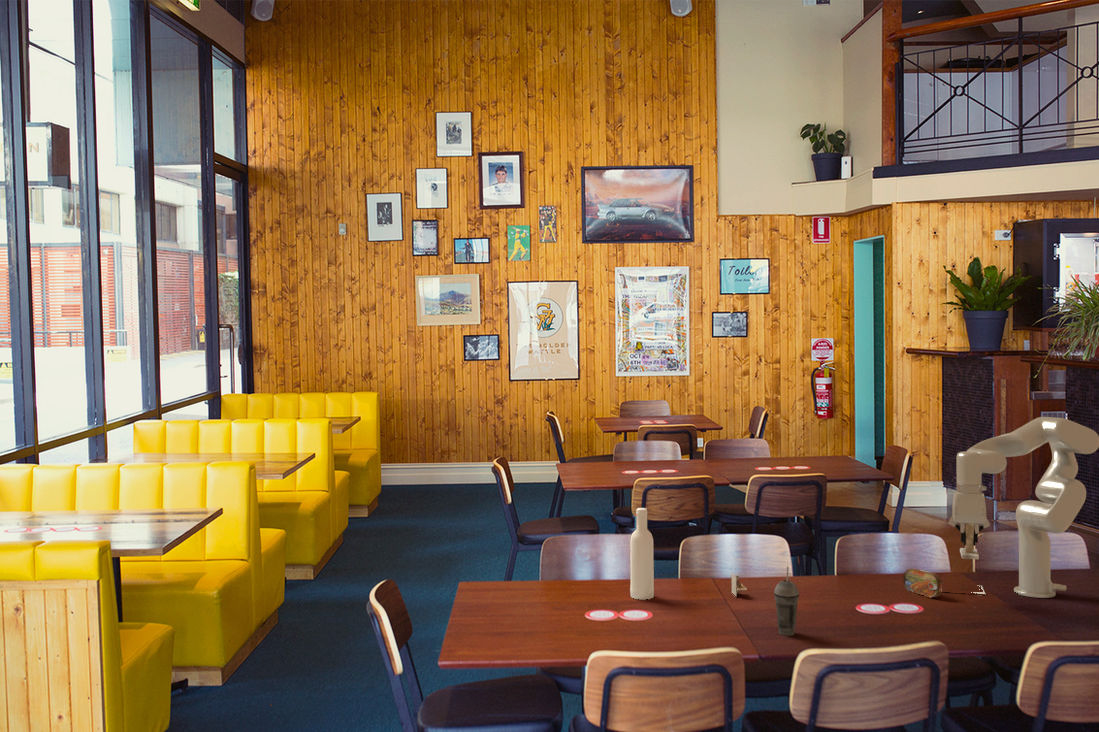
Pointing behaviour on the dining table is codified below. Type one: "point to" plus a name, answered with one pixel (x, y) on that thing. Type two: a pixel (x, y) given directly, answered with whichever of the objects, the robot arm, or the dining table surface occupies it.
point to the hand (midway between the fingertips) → (969, 544)
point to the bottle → (641, 559)
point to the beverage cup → (786, 606)
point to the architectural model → (734, 585)
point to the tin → (922, 582)
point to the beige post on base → (969, 544)
